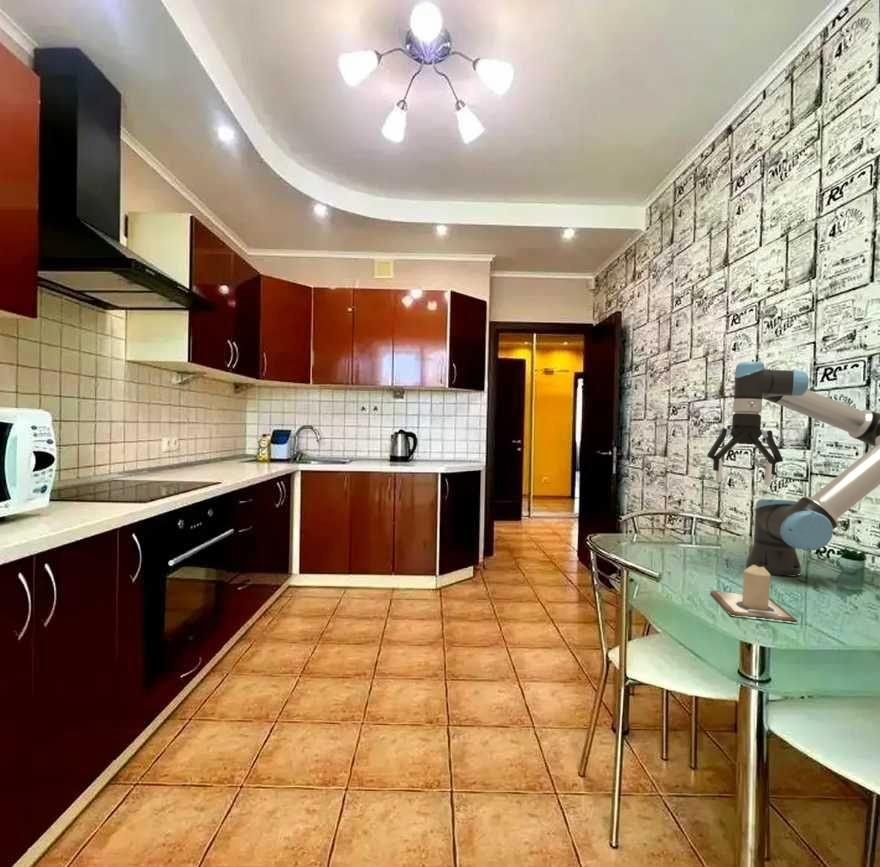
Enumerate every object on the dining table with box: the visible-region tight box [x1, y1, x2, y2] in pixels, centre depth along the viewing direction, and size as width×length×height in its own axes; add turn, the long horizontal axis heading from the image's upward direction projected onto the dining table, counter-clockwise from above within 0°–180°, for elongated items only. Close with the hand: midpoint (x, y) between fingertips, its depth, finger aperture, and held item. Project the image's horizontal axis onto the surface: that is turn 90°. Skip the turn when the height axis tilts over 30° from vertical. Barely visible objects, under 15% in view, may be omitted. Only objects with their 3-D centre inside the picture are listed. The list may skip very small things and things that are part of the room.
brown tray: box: [709, 590, 798, 623], centre depth 135 cm, size 14×18×2 cm
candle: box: [742, 565, 771, 611], centre depth 132 cm, size 6×6×10 cm
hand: (742, 483), depth 163 cm, fingers open, 13 cm apart
